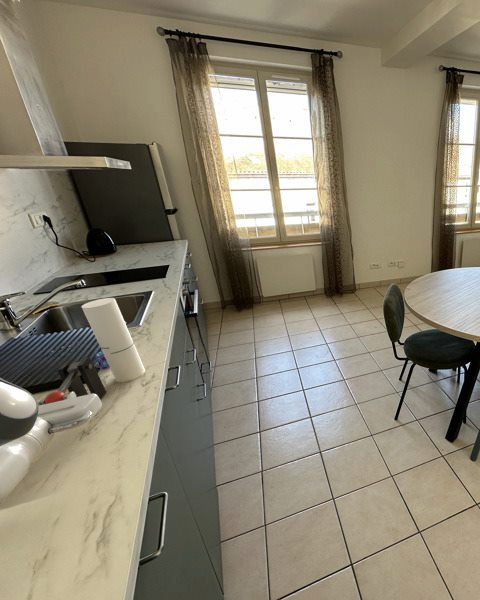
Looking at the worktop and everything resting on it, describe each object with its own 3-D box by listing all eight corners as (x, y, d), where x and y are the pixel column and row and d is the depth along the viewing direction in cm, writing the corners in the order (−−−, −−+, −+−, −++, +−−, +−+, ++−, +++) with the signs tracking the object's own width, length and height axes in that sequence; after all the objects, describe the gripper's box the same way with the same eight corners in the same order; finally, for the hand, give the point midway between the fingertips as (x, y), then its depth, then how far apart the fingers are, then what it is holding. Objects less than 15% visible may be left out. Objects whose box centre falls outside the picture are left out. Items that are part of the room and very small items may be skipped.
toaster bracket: (104, 411, 86) (83, 371, 81) (61, 422, 83) (37, 380, 78) (122, 385, 96) (104, 348, 91) (84, 394, 93) (64, 355, 89)
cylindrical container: (129, 372, 103) (96, 298, 93) (152, 370, 103) (121, 297, 93) (111, 386, 96) (73, 308, 87) (135, 384, 96) (100, 307, 87)
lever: (66, 407, 77) (57, 397, 75) (46, 412, 75) (37, 401, 74) (90, 369, 88) (84, 358, 86) (74, 372, 87) (67, 362, 85)
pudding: (96, 361, 110) (90, 348, 108) (139, 352, 114) (133, 339, 112) (81, 381, 100) (74, 366, 98) (129, 369, 104) (123, 355, 102)
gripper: (78, 412, 67) (106, 375, 79) (-58, 444, 61) (-5, 399, 73) (91, 435, 70) (116, 395, 82) (-38, 468, 64) (10, 420, 76)
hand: (58, 397), depth 77 cm, fingers closed on lever, 3 cm apart
